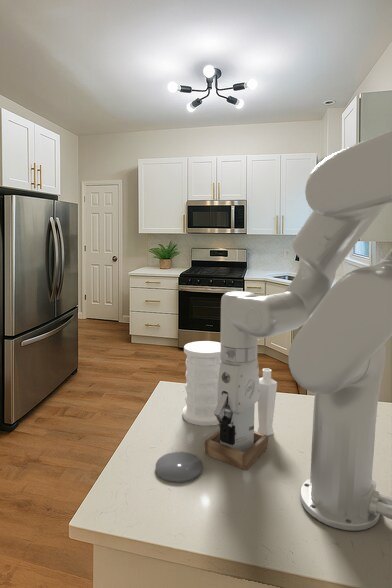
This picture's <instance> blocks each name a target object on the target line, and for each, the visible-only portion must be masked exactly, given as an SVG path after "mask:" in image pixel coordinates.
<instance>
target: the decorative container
mask: <svg viewBox="0 0 392 588" xmlns="http://www.w3.org/2000/svg"><path fill="white" fill-rule="evenodd" d="M183 352H184V355H186V359H185V367H186V371H185V374H184V375H185V379H186V383H185V385H184V386H185V387H184V388H185V391H186V394H185V399H184V400H185V404H186V405H185V406H184V407H183V408H182V418H183V420H184V421H185V422H187V423H189V424H192V425H195V426H200V427H211V426H212V427H213V426H217V425H220V424H219V421H218V420H217V418H216V416H215V415H214V411H215V409H216V407H217V405H218V400H217V394H218V378H219V370H220V364H221V360H220V342H218V341H211V340H201V341H200V340H199V341H192V342H188V343H185V344H184V346H183Z"/></svg>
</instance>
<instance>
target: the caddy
mask: <svg viewBox="0 0 392 588" xmlns="http://www.w3.org/2000/svg"><path fill="white" fill-rule="evenodd" d="M268 444H269V436H268V435H265V434H262V433H259V432H257V431H255V430H254V445H252V446H251V447H250V448H249V449H248V450H247V451H246V452H245V453H244V452H242V451H239V450H236V449H234V448H231V447H228V446H225V445H223V444H220V429H219V430H218V431H216V432H214V433H213V434H212V435H211V436H209V437H208V438H207V439H205V440H204V454H205V455H206V456H209V457H211V458H214V459H216V460H219V461H222V462H225V463H226V464H229V465H231V466H234V467H237V468H239V469H242V470H243V471H244V470H245V471H247V470H248V469H249V468H250V467H251V466H252V465H253V464H254V463H255V462H256V461H257V460H258V459H259V458H260V457H261V456H262V455H263V454H264V453H265V452H266V451H267V450H268V447H269V445H268Z"/></svg>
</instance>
